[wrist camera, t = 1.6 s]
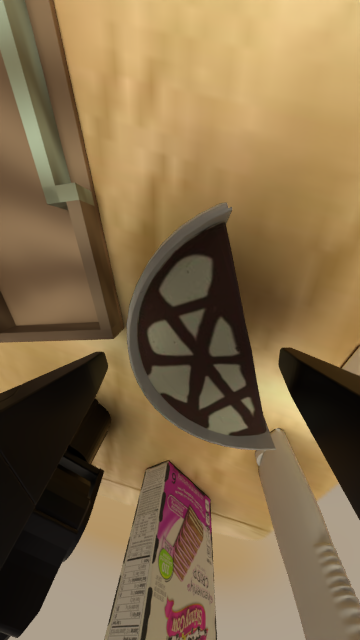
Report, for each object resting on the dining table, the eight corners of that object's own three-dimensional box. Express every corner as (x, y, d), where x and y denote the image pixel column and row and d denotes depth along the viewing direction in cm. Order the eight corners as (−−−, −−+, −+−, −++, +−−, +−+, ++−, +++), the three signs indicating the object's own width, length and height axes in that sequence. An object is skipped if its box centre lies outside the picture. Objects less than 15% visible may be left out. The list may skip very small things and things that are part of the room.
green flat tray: (124, 327, 19) (113, 339, 16) (16, 332, 20) (-8, 342, 18) (33, -87, 10) (-18, -191, 7) (-146, -20, 11) (-233, -88, 9)
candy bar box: (212, 497, 29) (227, 778, 13) (187, 504, 30) (175, 764, 15) (169, 457, 26) (126, 749, 11) (144, 467, 27) (76, 736, 12)
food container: (141, 250, 16) (59, 252, 6) (210, 226, 15) (228, 186, 5) (182, 364, 20) (166, 465, 10) (238, 353, 19) (277, 456, 9)
